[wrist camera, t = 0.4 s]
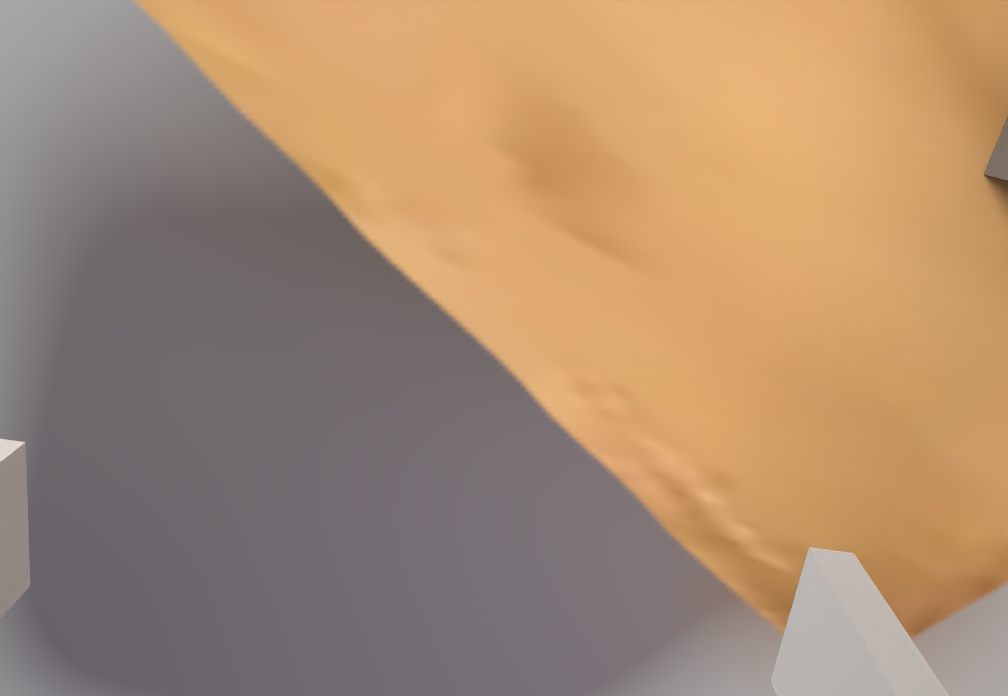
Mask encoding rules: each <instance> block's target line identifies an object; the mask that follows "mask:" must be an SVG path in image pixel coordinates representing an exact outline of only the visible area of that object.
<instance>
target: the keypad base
mask: <svg viewBox="0 0 1008 696" xmlns="http://www.w3.org/2000/svg"><path fill="white" fill-rule="evenodd" d="M984 175H988V176H991V177H995V178H999V179H1003V180H1006V181H1008V118H1007V121H1006V123H1005V126H1004V128H1003V130H1002V133H1001V135H1000V137H999V140H998V142H997V145H996V147H995V149H994V152H993V154H992V157H991V159H990V161H989V164H988V166H987V169H986V171H985V173H984Z"/></svg>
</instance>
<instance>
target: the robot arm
mask: <svg viewBox="0 0 1008 696" xmlns="http://www.w3.org/2000/svg"><path fill="white" fill-rule="evenodd" d="M25 450H26V449H25V442H19V441H11V440H4V439H0V618H1V617H2V616H3V615H4V614H5V613H6V612H7V611H8V609H9V608H10V607H11V606H12V605H13V604H14V603H15V602H16V601H17V599H18V598H19V597H20V596H21V595H22V594H23V593H24V592H25V591H26V590H27V589H28V588H29V586H30V568H29V538H28V509H27V480H26V479H27V478H26V451H25ZM771 683H772V686H773V688H774V691H775V693H776V696H949V695H948V693H947V692H946V690H945V689H944V687H943V686H942V684H941V683H940V681H939V680H938V678H937V677H936V675H935V674H934V672H933V671H932V669H931V668H930V666H929V665H928V664H927V662H926V660H925V659H924V657H923V656H922V654H921V653H920V651H919V650H918V648H917V647H916V645H915V644H914V642H913V641H912V639H911V638H910V636H909V635H908V633H907V632H906V630H905V629H904V628H903V626H902V625H901V623H900V622H899V620H898V619H897V617H896V616H895V614H894V613H893V611H892V610H891V608H890V607H889V605H888V604H887V602H886V601H885V599H884V598H883V596H882V595H881V593H880V592H879V590H878V589H877V587H876V586H875V584H874V583H873V581H872V580H871V578H870V577H869V575H868V574H867V572H866V571H865V569H864V568H863V566H862V565H861V563H860V562H859V560H858V559H857V557H856V556H855V554H854V553H850V552H842V551H835V550H827V549H820V548H812V547H809V549H808V553H807V556H806V560H805V563H804V567H803V570H802V574H801V577H800V581H799V584H798V588H797V591H796V594H795V598H794V601H793V605H792V608H791V612H790V615H789V619H788V622H787V626H786V629H785V633H784V636H783V640H782V643H781V647H780V650H779V654H778V658H777V661H776V664H775V668H774V671H773V675H772V678H771Z"/></svg>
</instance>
